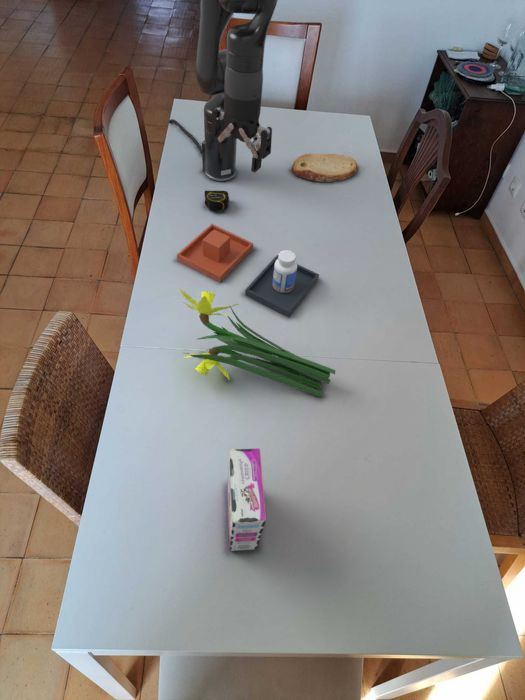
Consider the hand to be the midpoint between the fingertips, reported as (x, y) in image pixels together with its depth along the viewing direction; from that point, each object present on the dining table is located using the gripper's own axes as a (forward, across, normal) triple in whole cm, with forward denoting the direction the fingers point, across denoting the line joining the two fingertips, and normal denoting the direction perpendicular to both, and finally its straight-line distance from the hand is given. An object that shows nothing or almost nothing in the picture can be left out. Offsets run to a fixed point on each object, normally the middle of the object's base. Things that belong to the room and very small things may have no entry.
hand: (239, 163), depth 103 cm
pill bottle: (+22, -19, +7) cm, 30 cm away
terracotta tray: (+22, +1, +8) cm, 24 cm away
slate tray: (+22, -19, +7) cm, 30 cm away
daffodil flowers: (+22, -27, +31) cm, 47 cm away
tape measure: (+23, +13, -9) cm, 28 cm away
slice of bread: (+23, -3, -45) cm, 51 cm away
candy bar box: (+22, -42, +59) cm, 76 cm away
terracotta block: (+22, +1, +8) cm, 23 cm away
